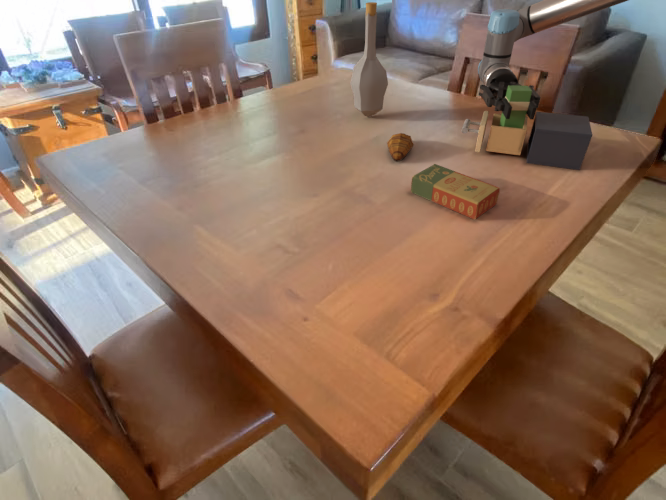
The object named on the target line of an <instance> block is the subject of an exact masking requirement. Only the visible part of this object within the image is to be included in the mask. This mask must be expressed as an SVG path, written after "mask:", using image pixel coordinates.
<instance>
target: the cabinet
mask: <svg viewBox="0 0 666 500" xmlns="http://www.w3.org/2000/svg"><path fill="white" fill-rule="evenodd" d="M592 130H593V129H592V126H591V123H590V118H589V116H585V115H575V114H567V113H566V114H565V113H555V112H546V111H545V112H544V111H536V112H535V116H534V119H533V122H532V126H531V130H530V133H529V137H528V141H527V145H526V146H527V147H526V163H525V164H529V165H537V166H545V167H551V168H552V167H553V168H560V169H567V170H573V171H574V170H575V171H580V170H581V168H582V164H583V163H584V159H585V157H586V154H587V151H588V149H589V146H590V143H591V140H592V138H593V131H592Z"/></svg>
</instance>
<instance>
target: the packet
mask: <svg viewBox="0 0 666 500" xmlns="http://www.w3.org/2000/svg"><path fill="white" fill-rule="evenodd" d="M531 94H532V90H531V89H530V88H529V85H522V86H514V85H508V88H507V93H506V96H505V98H506V99H507V100H508V102H509V103H510V105H511V106H512V110H511V115H510V119H506V118H505V116H504V115H503V113H502V112H501V114H502V115H501V120H500V124H499V126H503V127H512V128H521V129H523V125H524V121H525V117H527V114H526V113H527V110H528V106H529V103H530V102H529V101H530V98H531Z"/></svg>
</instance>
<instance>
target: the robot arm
mask: <svg viewBox="0 0 666 500" xmlns="http://www.w3.org/2000/svg"><path fill="white" fill-rule="evenodd" d="M625 2H629V0H540V1H538V2H536V3H533V4H531V5H528V6H525V7H524V8H520V9H517V10H516V9H512V8H511V9H510V8H509V9H508V8H500V9H495V10H493V11H492V12H491V13H490V16H489V20H488V22H487V30H486V37H485V44H484V49H483V54H482V59H481V60H480V62H479V63H478V66H477V75H478V78H479V79H480V81H481V82H482V84H480V85H479V90H478V96H479V97H481V98H482V100H483V102H484V103H485V106H486V107H487V108H493V107H494V110H493V111H494V112H501V114H502V113H503V115H504V116H505V118H506V119H510V115H511V110H512V106H511V105H510V103H509V102H508V100H507V99H506V98H505V96H506V93H507V88H508V85H514V86H523V85H522V84H520V83H519V79H518V78H517V75H516V74H515V73H514V71H512V69H511V68H510V63H511V59H512V55H513V50H514V45H515V42H517V41H519V40H521V39H523V38H527V37H529V36H532V35H535V34H537V33H540V32H543V31H545V30H549V29H551V28H554V27H558V26H560V25H562V24H566V23H569V22H571V21H574V20H577V19H580V18H582V17H586V16H588V15H591V14H594V13H597V12H600V11H602V10H603V11H604V10H605V9H608V8H611V7H614V6H616V5H619V4H622V3H625ZM528 87H529V88H530V89H531V90H532V94H531V98H530V101H529V102H530V103H529V106H528V110H527V113H526V117H528V119H529V120H534V118H535V115H536V112H537V109H538V108H539V105H540V101H541V96H540V95H539V94H538V92H537V90H535V88H534V87H535V86H534V85H532V84H530V85H528Z"/></svg>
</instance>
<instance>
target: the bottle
mask: <svg viewBox="0 0 666 500" xmlns="http://www.w3.org/2000/svg"><path fill="white" fill-rule="evenodd" d="M377 6H378V2H374V1H372V2H371V1H370V2H365V12H364V14H365V15H364V18H365V28H364V29H365V32H364V33H365V34H364V41H365V43H364V48H363V49H364V50H363V55H362V56H361V58H360V59H359V60H358V61H357V62H356V63H355V65H354V66H353V67H352V68H353V69H352V72H351V73H352V74H351V78H350V83H349V84H350V88H351V91H352V95H353V107H354V108H355V109H356V110H358V111H359V112H360V113H361V114H362V115H363V116H364V117H367V118H369V117H372V116H375V115H376V114H378V113H379V112H380V111H382V110H383V108H384V100H385V96H386V95H385V94H386V92H387V88H388V85H389V80H388V74H387V69H386V68H385V67H384V66H383V65H382V63H381V61H380V60H379V59H378V57H377V49H376V48H377V47H376V42H377V40H376V39H377V20H378V12H377Z"/></svg>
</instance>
